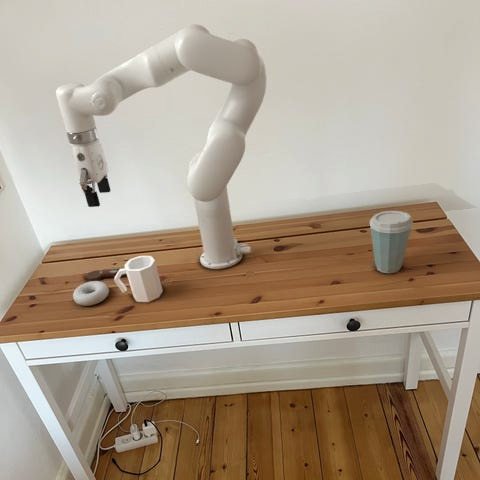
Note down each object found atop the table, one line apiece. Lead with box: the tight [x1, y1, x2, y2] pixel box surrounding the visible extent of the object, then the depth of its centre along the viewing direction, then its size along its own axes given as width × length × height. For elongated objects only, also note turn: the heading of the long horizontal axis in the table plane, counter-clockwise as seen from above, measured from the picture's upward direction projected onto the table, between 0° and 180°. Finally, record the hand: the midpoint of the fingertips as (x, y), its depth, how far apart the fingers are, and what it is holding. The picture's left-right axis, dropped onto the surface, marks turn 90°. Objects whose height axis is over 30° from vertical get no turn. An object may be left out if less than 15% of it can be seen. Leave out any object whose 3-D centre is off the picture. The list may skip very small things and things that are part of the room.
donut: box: [72, 280, 110, 307], centre depth 150 cm, size 10×4×10 cm
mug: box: [113, 255, 163, 303], centre depth 146 cm, size 12×9×10 cm
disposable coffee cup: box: [369, 210, 414, 274], centre depth 139 cm, size 11×11×15 cm
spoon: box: [86, 267, 127, 282], centre depth 159 cm, size 16×5×2 cm, turn 85°
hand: (99, 199), depth 147 cm, fingers open, 9 cm apart
